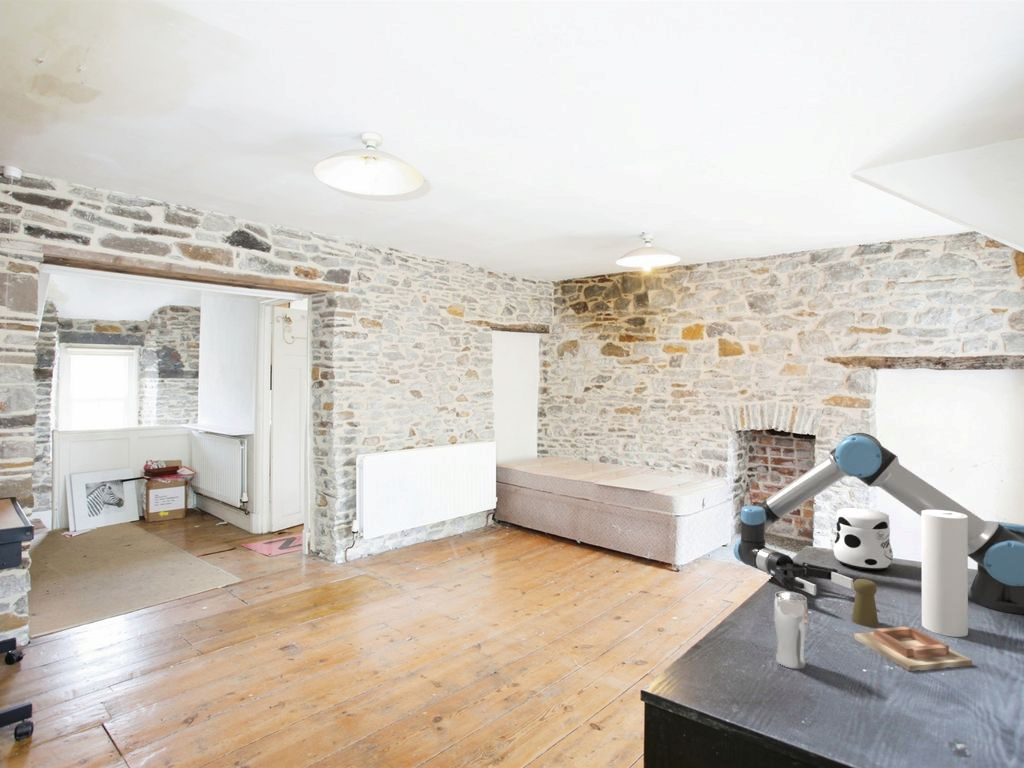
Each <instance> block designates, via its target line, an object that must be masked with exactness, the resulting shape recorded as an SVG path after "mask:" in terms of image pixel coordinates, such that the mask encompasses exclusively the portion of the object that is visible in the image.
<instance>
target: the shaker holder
mask: <svg viewBox="0 0 1024 768" xmlns="http://www.w3.org/2000/svg"><path fill="white" fill-rule="evenodd" d="M853 639H854V640H856V641H858V642H859V643H861V644H862V645H864V646H866V647H868V648H869V649H870V650H873V651H874V652H876V653H878V655H880V656H882V657H884V658H885V659H888V660H889V659H890V660H889V661H891V660H892V661H891V662H893V661H894V662H895V664H896V663H897V665H898V664H899V665H901V666H902V667H901V666H900V667H901V668H903V667H904V668H906V669H907V670H906V669H905V670H906V671H908V670H909V671H910V672H916V671H915V670H920V671H928V670H929V671H930V670H938V669H939V670H940V669H947V668H946V667H951V668H959V667H968V666H969V667H970V666H972V665H973V660H972V659H971V658H969V657H967V656H965V655H963V654H961V653H959V652H957V651H955V650H953V649H951V648H950V645H949V644H947V643H945V642H943V641H942V640H939V639H937V638H935V637H933V636H931V635H929V634H928V633H925V632H923V631H922V630H919V629H917V628H915V627H913V626H912V627H907V626H905V625H904V626H894V627H893V626H892V627H883V628H876V630H873V631H870V632H860V633H859V632H858V633H857V632H856V633H853ZM894 662H893V663H894ZM899 665H898V666H899ZM904 668H903V669H904ZM909 671H908V672H909Z"/></svg>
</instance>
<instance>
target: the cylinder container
mask: <svg viewBox="0 0 1024 768" xmlns="http://www.w3.org/2000/svg"><path fill="white" fill-rule="evenodd" d="M920 517H921V519H920V520H921V522H920V523H921V528H920V529H921V532H920V533H921V535H920V536H921V539H920V540H921V541H920V542H921V626H922V627H923V628H924V629H926V630H928V631H929V632H932V633H936V634H938V635H941V634H942V636H945V637H946V636H947V637H954V638H962V637H966V636H968V634H969V600H968V599H969V591H968V590H969V585H968V583H969V580H968V579H969V578H968V577H969V574H968V571H969V565H968V564H969V563H968V562H969V560H968V559H969V556H968V516H967V515H965V514H962V513H958V512H953V511H946V510H922V511H921V516H920Z"/></svg>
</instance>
